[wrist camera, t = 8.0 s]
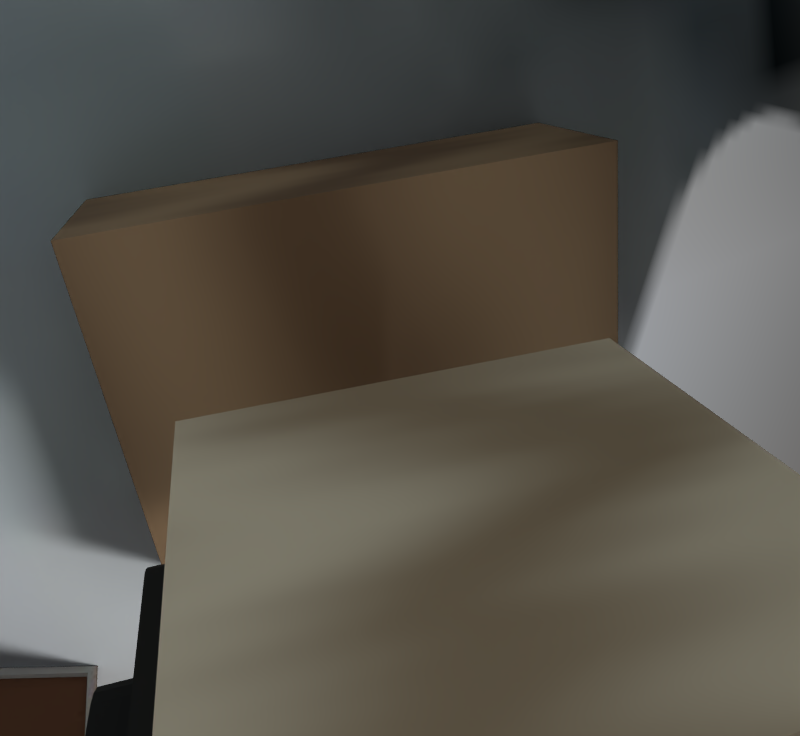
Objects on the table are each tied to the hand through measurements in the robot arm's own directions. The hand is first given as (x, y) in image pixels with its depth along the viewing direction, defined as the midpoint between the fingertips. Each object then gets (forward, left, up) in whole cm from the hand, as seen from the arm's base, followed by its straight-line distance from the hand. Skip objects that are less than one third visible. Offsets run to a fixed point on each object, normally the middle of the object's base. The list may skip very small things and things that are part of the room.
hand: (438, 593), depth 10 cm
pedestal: (0, 0, -9) cm, 9 cm away
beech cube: (0, 0, -1) cm, 1 cm away
